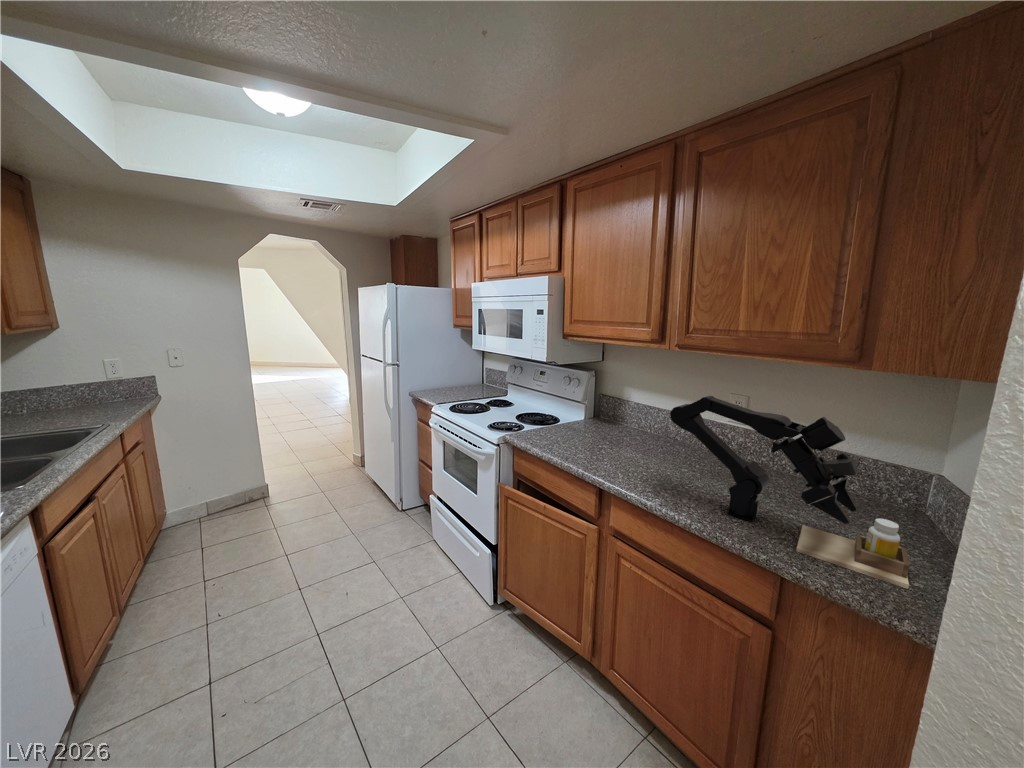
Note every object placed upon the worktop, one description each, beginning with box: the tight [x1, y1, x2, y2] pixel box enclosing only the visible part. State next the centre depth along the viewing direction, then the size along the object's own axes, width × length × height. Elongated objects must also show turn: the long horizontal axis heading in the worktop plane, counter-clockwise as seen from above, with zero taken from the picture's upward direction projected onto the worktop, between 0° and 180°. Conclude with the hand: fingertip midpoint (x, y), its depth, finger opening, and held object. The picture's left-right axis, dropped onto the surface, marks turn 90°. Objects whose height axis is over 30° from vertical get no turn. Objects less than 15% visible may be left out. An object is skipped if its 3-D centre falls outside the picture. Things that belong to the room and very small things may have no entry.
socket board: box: [795, 524, 910, 590], centre depth 94 cm, size 20×14×4 cm
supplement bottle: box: [864, 518, 901, 560], centre depth 90 cm, size 5×5×10 cm
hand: (851, 516), depth 94 cm, fingers open, 9 cm apart
